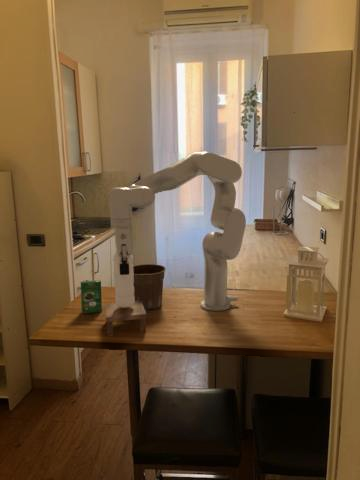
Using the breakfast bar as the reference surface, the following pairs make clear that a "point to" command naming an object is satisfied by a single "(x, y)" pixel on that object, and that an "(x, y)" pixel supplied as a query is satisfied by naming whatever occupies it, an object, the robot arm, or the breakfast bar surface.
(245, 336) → the breakfast bar surface
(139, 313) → the small square stand
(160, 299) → the plant pot
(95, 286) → the coffee box
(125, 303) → the water bottle
